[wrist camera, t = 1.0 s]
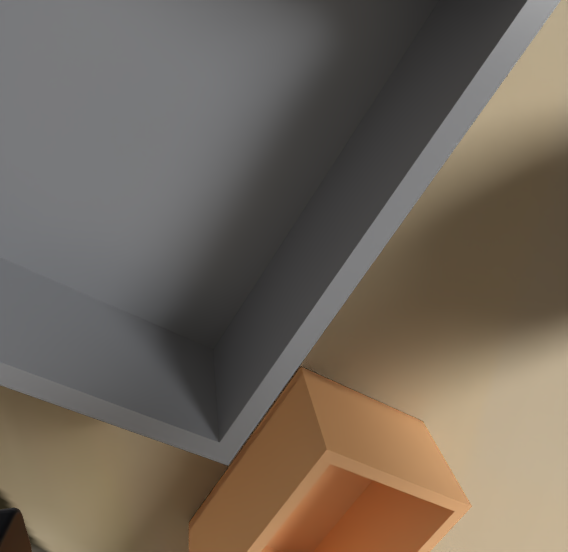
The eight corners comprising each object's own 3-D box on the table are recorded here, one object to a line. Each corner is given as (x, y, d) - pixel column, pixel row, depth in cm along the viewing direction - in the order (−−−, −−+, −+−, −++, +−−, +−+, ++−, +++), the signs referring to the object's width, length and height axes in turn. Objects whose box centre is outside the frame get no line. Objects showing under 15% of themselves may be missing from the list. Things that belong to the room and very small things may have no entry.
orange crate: (422, 421, 26) (472, 506, 21) (308, 558, 28) (330, 658, 24) (300, 366, 23) (326, 449, 19) (188, 522, 26) (188, 626, 22)
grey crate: (468, -22, 18) (588, -40, 12) (219, 358, 22) (228, 465, 17) (26, -403, 13) (-95, -714, 7) (-175, 189, 17) (-337, 266, 12)
